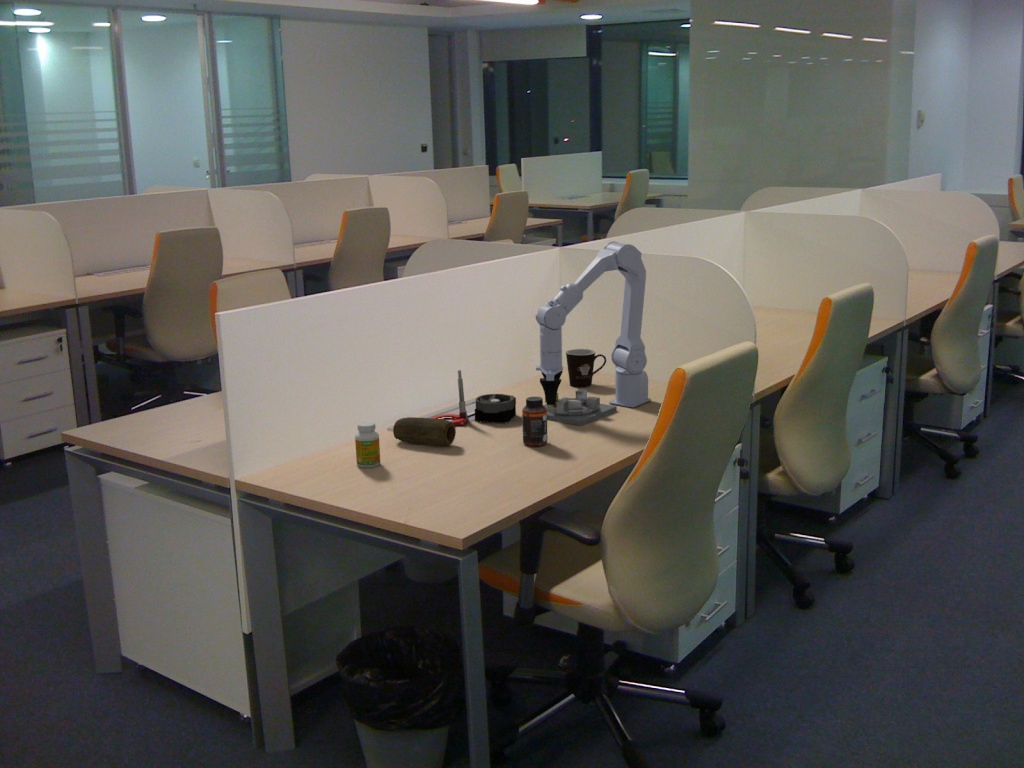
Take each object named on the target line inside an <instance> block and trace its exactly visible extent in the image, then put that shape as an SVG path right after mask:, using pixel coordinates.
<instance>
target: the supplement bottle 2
mask: <svg viewBox="0 0 1024 768" xmlns="http://www.w3.org/2000/svg"><path fill="white" fill-rule="evenodd" d="M543 400H544V399H543V397H542V396H528V397H527V398H525V406H523V407H522V411H521V414H522V417H521V418H522V420H521V421H522V441H523V444H524V445H525V446H527V447H531V448H532V447H542V446H545V445H546V444H548V440H549V439H548V419H547V409H546V407H545V406H543V405H544V404H543V403H544V401H543Z"/></svg>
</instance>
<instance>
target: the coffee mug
mask: <svg viewBox="0 0 1024 768" xmlns="http://www.w3.org/2000/svg"><path fill="white" fill-rule="evenodd" d="M565 355H566V365H567V371H568V380H569V386H570V387H571V388H578V389H584V388H589V387H591V386H592V383H593V376H594V375H595V374H597V373H598V372H599V371H601V370H602V369H603V368H604V366H605V365H606V363H607V356H606V355H603V354H602V353H600V354H599V353H597V354H596V351H595V350H594V349H589V348H576V349H575V348H574V349H569V350H566V351H565ZM598 357H602V358H603V360H604V361H603V363H602V365H601V366H599V367H598V368H597V369H596V370H594V367H595V366H594V365H595V361H596V359H597V358H598Z"/></svg>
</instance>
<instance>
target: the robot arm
mask: <svg viewBox="0 0 1024 768" xmlns="http://www.w3.org/2000/svg"><path fill="white" fill-rule="evenodd" d="M611 271H619V273H621V275H622V276H623V277H624V278H625V280H624V292H623V303H622V313H621V314H622V315H621V316H622V317H621V323H620V324H621V325H620V326H621V327H620V335H619V336H618V338H616V340H615V343H614V344H615V346H614V347H613V350H612V352H611V354H610V357H611V361H612V363H613V364H614V366H615V398H614V399H613V400H610V401H609V402H608V403H609V405H610V404H611V405H614V406H623V407H627V408H636V407H638V406H640V405H643V404H645V403H647V402H650V401H651V400H652V398H649V376H648V373H647V372H646V371H645V370H644V369H645V367H646V366H647V364H648V358H647V355H646V350H645V349H646V346H645V344H644V342H643V339H642V338H641V337H642V336H641V334H642V325H643V313H644V312H643V311H644V303H645V302H644V300H645V292H646V283H647V282H646V281H647V280H646V279H647V270H646V268H645V264H644V262H643V259H642V252H641V251H640V249H638V248H637V247H636V246H635V245H633V244H628V243H627V244H626V243H621V242H618V241H609V242H607V243H606V244H605V245H604V247H603V248H601V249H600V250H599V251H598V252H597V255H596V257H595V258H593V260H592V261H591V263H590V264H588V266H587V267H586V268H585V269H584V270H583V272H582V273H581V274H580V275H579V276H578V278H576V280H575V281H574V282H573V283H566V284H563V285H561V286H560V288H559V289H560V290H559V292H558V293H556V294H555V295H554V296H553V298H552V299H549V300H548V301H547V304H545V305H542V306H541V307H540V308H539V309H538V310H537V314H536V315H535V320H536V323H537V324H538V325H539V355H540V356H539V358H540V360H539V361H540V362H539V364H540V366H539V365H538V366H536V367H535V370H536V371H540V372H541V375H542V377H541V378H539V383H540V385H541V387H542V389H543V393H544V399H545V398H546V403H545V404H547V405H555V403H556V397H557V393H558V390H559V387H560V385H561V383H562V378H561V376H562V374H563V369H564V367H563V348H562V347H563V346H562V345H563V344H562V343H563V341H562V340H563V338H562V337H563V335H562V333H563V331H562V330H563V326H564V325H565V323H566V319H567V316H568V315H569V314H570V313H571V312H572V311H573V310H574V308H576V307H577V305H579V303H580V302H581V301H582V300H583V299H584V292H585V291H586V290H587V289H588V288H589V287H590V286H591V285H592V284H593V283H594V282H595V281H596V280H598V279H599V278H600V277H601V276H602V275H603V274H604V273H605V272H611Z"/></svg>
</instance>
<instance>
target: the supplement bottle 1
mask: <svg viewBox="0 0 1024 768" xmlns="http://www.w3.org/2000/svg"><path fill="white" fill-rule="evenodd" d="M357 431H358V432H356V434H355V435H354V439H355V440H354V441H355V455H356V456H355V457H356V465H357V466H358V467H360V468H364V469H371V468H376V467H378V466H379V465H380V464H381V449H380V447H381V446H380V434H379V433H378V431H376V423H375V422H373V421H367V420H366V421H361V422H359V423H357Z"/></svg>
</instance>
